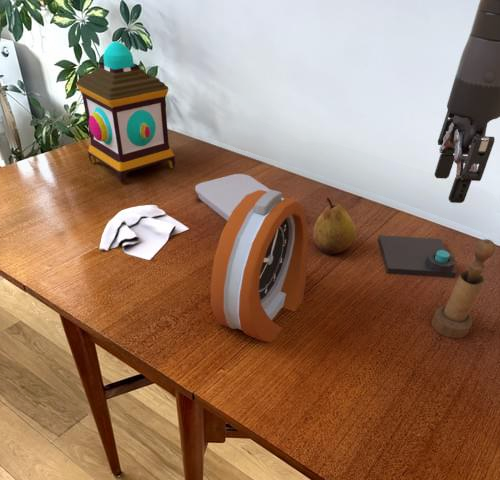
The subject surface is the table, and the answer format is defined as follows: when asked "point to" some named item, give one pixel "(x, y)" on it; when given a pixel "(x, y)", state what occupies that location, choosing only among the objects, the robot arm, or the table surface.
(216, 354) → the table surface
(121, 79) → the decorative lantern
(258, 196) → the alarm clock
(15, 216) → the table surface
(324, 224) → the fruit
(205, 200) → the tablet
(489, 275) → the table surface
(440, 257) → the button
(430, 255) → the kitchen scale
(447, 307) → the mortar and pestle
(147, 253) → the cloth
